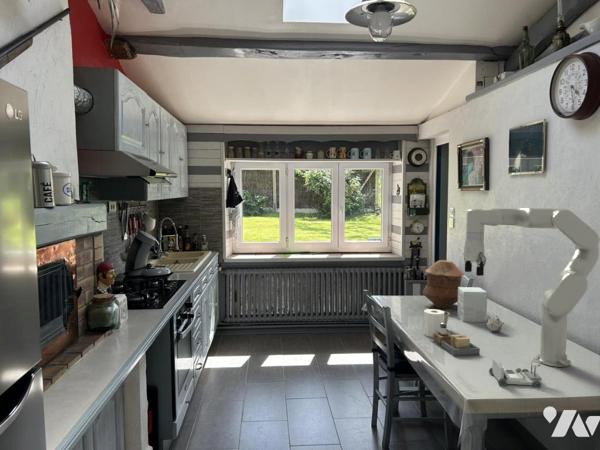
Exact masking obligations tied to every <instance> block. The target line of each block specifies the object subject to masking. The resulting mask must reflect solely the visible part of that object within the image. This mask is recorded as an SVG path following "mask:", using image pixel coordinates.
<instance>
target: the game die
mask: <svg viewBox="0 0 600 450" xmlns="http://www.w3.org/2000/svg"><path fill="white" fill-rule="evenodd" d="M487 316H488V315H487ZM503 324H504V322H502V321H501V320H500V318H499V317H497V315H495V317H493V316H492V317H491V316H488V319H487V321H486V324H484V326H486V327H487V328H488V329H489V331H491V333H494V332H501V329H502V326H503Z"/></svg>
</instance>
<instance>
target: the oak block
mask: <svg viewBox="0 0 600 450" xmlns="http://www.w3.org/2000/svg"><path fill="white" fill-rule="evenodd" d="M450 335H451V347H453V348H454V349H464V348H470V343H471V338H470V337H468V336H466V335H465V334H450Z"/></svg>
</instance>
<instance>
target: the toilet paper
mask: <svg viewBox="0 0 600 450" xmlns="http://www.w3.org/2000/svg"><path fill="white" fill-rule="evenodd" d="M440 323H444V310H441V309H434V308H431V309H430V308H427V309H424V310H423V335H424V336H425V337H426V336H427V337H431V338H433V333H434V332H440Z"/></svg>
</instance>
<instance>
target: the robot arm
mask: <svg viewBox="0 0 600 450" xmlns="http://www.w3.org/2000/svg"><path fill="white" fill-rule="evenodd" d="M485 226H490V227H497V226H518V227H522V228H526V229H527V228H528V229H551V230H552V229H556V230H557V229H558V230H559V231H560V232H561V233H562V234H563V235H564V236H565V237H566V238H568V239H569V241H571V242H572V243H573V245H574V249H575V250H574V253H573V255H572V257H571V259H570V260H569V261H568V263H567V265H566V266H565V267H564V268H563V270H562V271H561V272H560V274H559V275H558V277H557V283H558V284H557V285H556V287H555V288H550V289H547V290H546V291H545V292H544V293H543V294H542V297H541V330H540V331H541V332H540V351H539V354H537V355H536V356H535V358H536V359H538V358H539V357H540V358H539V359H538V361H539V362H540V363H541V364H543V365H545V366H550V367H557V368H565V367H568V366H570V364H571V363H572V362H571V360H569V359H568V355H567V337H568V336H567V333H568V331H567V330H568V315H569V314H570V313H572V311H573V310H574V308H575V307H577V305H578V303H579V302H580V300H582V298H583V297H584V295H585V293H586V292H587V290H588V287H589V282H588V276H589V275H590V274H591V272H592V271H593V268H595V266H596V264H597V262H598V261H599V260H598V259H599V256H600V247H599V244H600V236H599V234H598V233H597V231H595V230H594V229H593V228H592V227H591V226H590V225H588V224H587V223H586V222H584V221H583V220H582V218H580V217H579V216H578V215H576V213H574V212H573V211H572V210H569V209H566V208H541V207H540V208H538V207H537V208H534V207H530V208H529V207H527V208H525V207H524V208H490V209H482V208H470V209H468V210H467V212H466V230H465V231H466V233H465V234H466V235H465V241H464V249H463V253H462V254H463V259H464V272H466V273H472V271H473V268H472V267H473V263H476V270H475V271H476V272H475V273H476V276H477V277H478V276H479V277H482V276H484V273H485V269H484V268H485V266H486V262H487V257H486V256H485ZM472 262H473V263H472Z"/></svg>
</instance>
